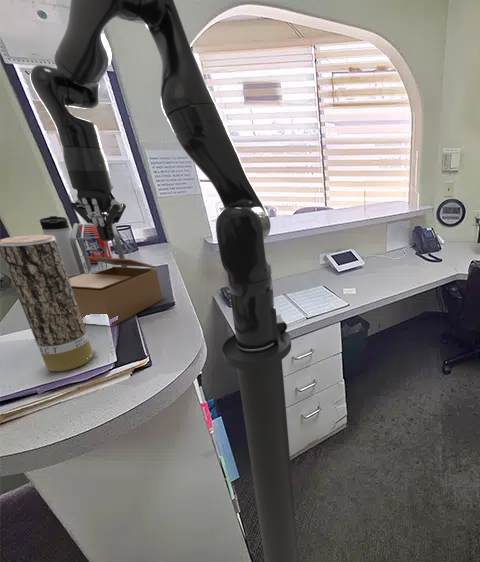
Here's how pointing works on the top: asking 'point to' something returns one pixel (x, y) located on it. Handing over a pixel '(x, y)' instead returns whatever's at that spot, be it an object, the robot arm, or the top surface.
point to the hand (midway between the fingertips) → (107, 240)
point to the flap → (120, 261)
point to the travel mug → (61, 241)
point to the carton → (116, 292)
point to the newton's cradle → (76, 253)
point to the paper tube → (47, 300)
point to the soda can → (97, 242)
